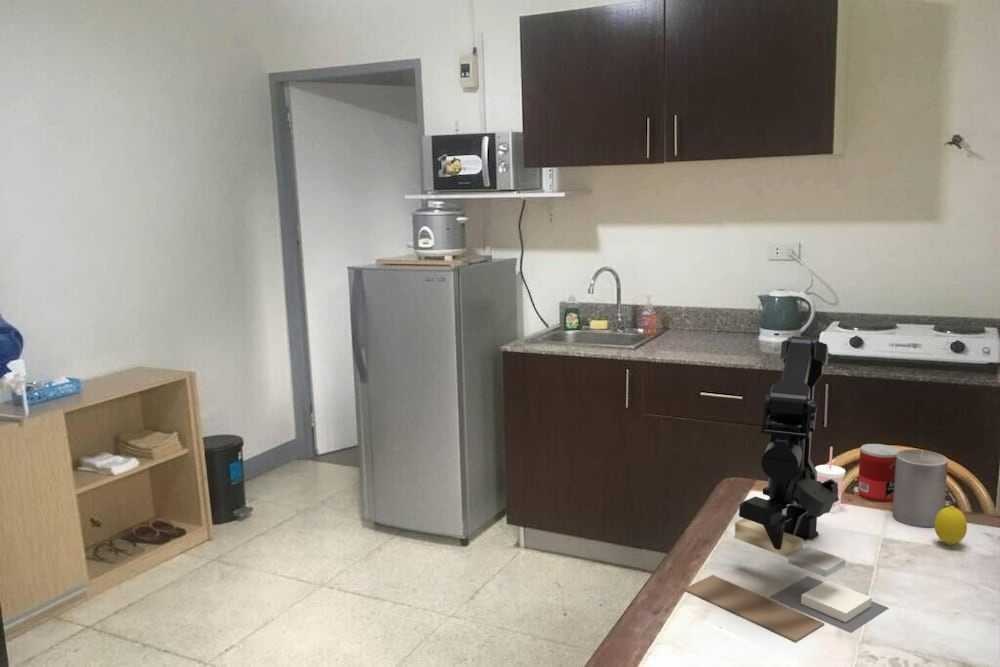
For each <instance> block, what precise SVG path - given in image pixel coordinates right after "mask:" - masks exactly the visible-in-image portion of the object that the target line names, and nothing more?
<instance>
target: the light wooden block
mask: <svg viewBox="0 0 1000 667" xmlns="http://www.w3.org/2000/svg"><path fill="white" fill-rule="evenodd" d="M734 539H736V540H740V541H742V542H745V543H747V544H750V545H752V546H755V547H757V548H760V549H762V550H766V551H768V552H771V553H773V554H775V555H776V554H777V555H779V556H781V557H784V558H787V563H788V564H791V565H793V566H796V567H797V568H801V569H803V570H806V571H809V572H810V573H813V574H816V575H819V576H821V577H824V578H827V577H828V576H831V575H833V574H834V573H836V572H838V571H840V570H842V568H845V567H846V559H844V558H842V557H839V556H836V555H834V554H831V553H828V552H825V551H822V550H819V549H817V548H815V547H811V546H805V547H804V542H805V541H804V539H802V538H800V537H797V536H794V535H791V534H788V533H785V532H784V533H783V540H782V545H781V549H780V550H777V549H775V548H774V547H773V545H772V543H771V540H770V538H769V536H768V534H767V532H766V530H765V528H764V526H763V525H762V524H759V523H756V522H753V521H750V520H748V519H745V518H742V519H740V520H737V521H736V522H734Z"/></svg>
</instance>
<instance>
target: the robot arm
mask: <svg viewBox="0 0 1000 667" xmlns="http://www.w3.org/2000/svg"><path fill="white" fill-rule="evenodd" d="M780 346H781V348H780V357H779V360H780V362H781V363H782V364H784V367H783V371H782V376H781V379H780V380H778V381H777V382H775V383H773V384H772V385H771V389H770V392H769V395H768V394H766V395H765V399H764V406H763V413H762V414H763V415H762V422H761V431H760V432H761V433H760V434H761V435H769V443H768V444H767V447H766V448H765V451H764V453H763V455H762V457H761V463H760V464H761V468H762V471H763V472H764V473H765V475H766V476H767V477H768V480H767V482H768V483H767V484H768V485H767V486H766V487H763V488H762V495H764V496H768V498H769V499H764V498H762V497H758V496H753V497H751V498H748V499H746V500H744V501H743V502H741V503H740V504H739V505H738V516H739V518H742V519H748V520H750V521H753V522H756V523H759V524H762V525H763V526H764V528H765V530H766V532H767V534H768V536H769V538H770V540H771V543H772V545H773V547H774V548H775V549H777V550H780V549H781V545H782V540H783V533H784V532H785V533H788V534H791V535H794V536H797V537H800V538H802V539H804V542H805V541H807V540H811V539H813V538H815V537H817V536H818V535H819V532H818V531H817V524H818V522H817V521H818V518H820V517H822V516H823V515H825V514H830V513H829V512H830V510H831V508H832V505H833V503H835V502H837V501H838V500H839V498H838V495H839V494H838V483H837V482H835V481H834V480H832V479H829V480H827V481H825V482H823V483H822V482H820V481H817V471H816V469H815V467H816V466H814V464H813V462H812V460H811V448H812V447H811V443H812V433H814V432H815V425H816V418H817V409H818V408H817V405H816V404H815V401H814V398H815V396H814V394H815V385H816V384H817V383H818V381H820V380H819V379H820V378H821V377H822V376H823V374H824V371H825V370H824V369H825V367H828V363H829V361H828V360H829V347H828V346H829V345H828V344H827V343H824V342H822V341H819V340H817V339H816V338H814V337H813V336H796V335H792V336H791V337H790V336H789V337H787V339H786V340H782V341H781V344H780ZM768 421H769V422H770V423H769V422H768Z"/></svg>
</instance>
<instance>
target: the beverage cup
mask: <svg viewBox="0 0 1000 667" xmlns="http://www.w3.org/2000/svg"><path fill="white" fill-rule="evenodd" d="M832 461H833V446H830V447H829V463H828V464H819V465H816V466H814V467H815V469H816V471H817V481H820V482H822V483H823V482H825V481H827V480H829V479H832V480H834V481H835V482H837V483H838V494H839V495H838V498H839V500H838V501H837V502H835V503H833V505H832V508H831V510H830V512H829V513H828V514H836V513H838V512H840V509H841V501H842V492H843V486H844V485H843V484H844V477H845V475H846V469H845V468H843V467H841V466H837V465H833V462H832Z"/></svg>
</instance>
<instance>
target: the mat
mask: <svg viewBox="0 0 1000 667" xmlns="http://www.w3.org/2000/svg"><path fill="white" fill-rule="evenodd" d="M823 582H824V581H822V580H819V579H816V578H814V577H811V576H809V575H807V576H805V577H803V578H801V579H799V580H798V581H796V582H793V583H792V584H790V585H789V586H787V587H785V588H783V589H781V590H779V591H778V592H775V593H774V594H772V595H770V596H769V597H768V599H770V600H772V601H774V602H777V603H779V604H781V605H784V606H786V607H788V608H791V609H793V610H795V611H797V612H800V613H802V614H804V615H807V616H809V617H811V618H814V619H816V620H818V621H821V622H823V623H826V624H828V625H831V626H833V627H836V628H838V629H841V630H842V631H845V632H848V633H850V634H852V633H854V632H855V631H856V630H858V629H860V628H861V627H862V626H864V625H866V624H867V623H869V622H870V621H872V620H873V619H876V617H879V615H881V614H882V613H884V612H885V611H887V610H889V609H890V608H889V607H888V606H885V605H883V604H880V603H879V602H875V601H873V600H872V601H871V607H869V608H868V609H866V610H864V611H863V612H861V613H860V614H858V615H857V616H855V617H853V618H852V619H850V620H849V621H847V622H843V621H841V620H838V619H836V618H834V617H831V616H829V615H827V614H824V613H822V612H820V611H817V610H815V609H812V608H810V607H808V606H805V605H803V604H801V595H802V594H804V593H806V592H807V591H809V590H811V589H813V588H815V587H816V586H818V585H820V584H822V583H823Z"/></svg>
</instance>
